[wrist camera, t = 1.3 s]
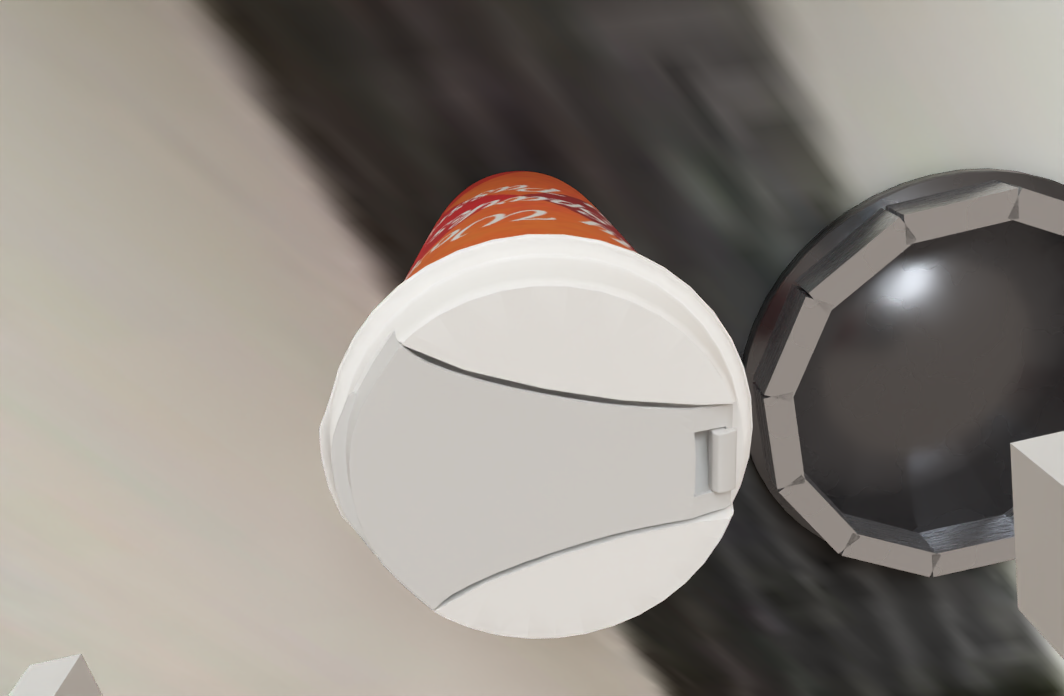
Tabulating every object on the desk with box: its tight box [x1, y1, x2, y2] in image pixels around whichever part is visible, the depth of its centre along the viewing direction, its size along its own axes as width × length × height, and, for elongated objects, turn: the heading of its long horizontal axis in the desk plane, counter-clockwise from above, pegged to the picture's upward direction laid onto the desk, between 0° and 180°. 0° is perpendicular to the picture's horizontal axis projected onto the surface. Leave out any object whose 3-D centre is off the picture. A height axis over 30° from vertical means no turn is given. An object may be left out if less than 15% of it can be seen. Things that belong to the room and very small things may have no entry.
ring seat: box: [742, 169, 1064, 577], centre depth 31 cm, size 15×15×2 cm
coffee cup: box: [319, 171, 753, 639], centre depth 23 cm, size 8×8×15 cm
